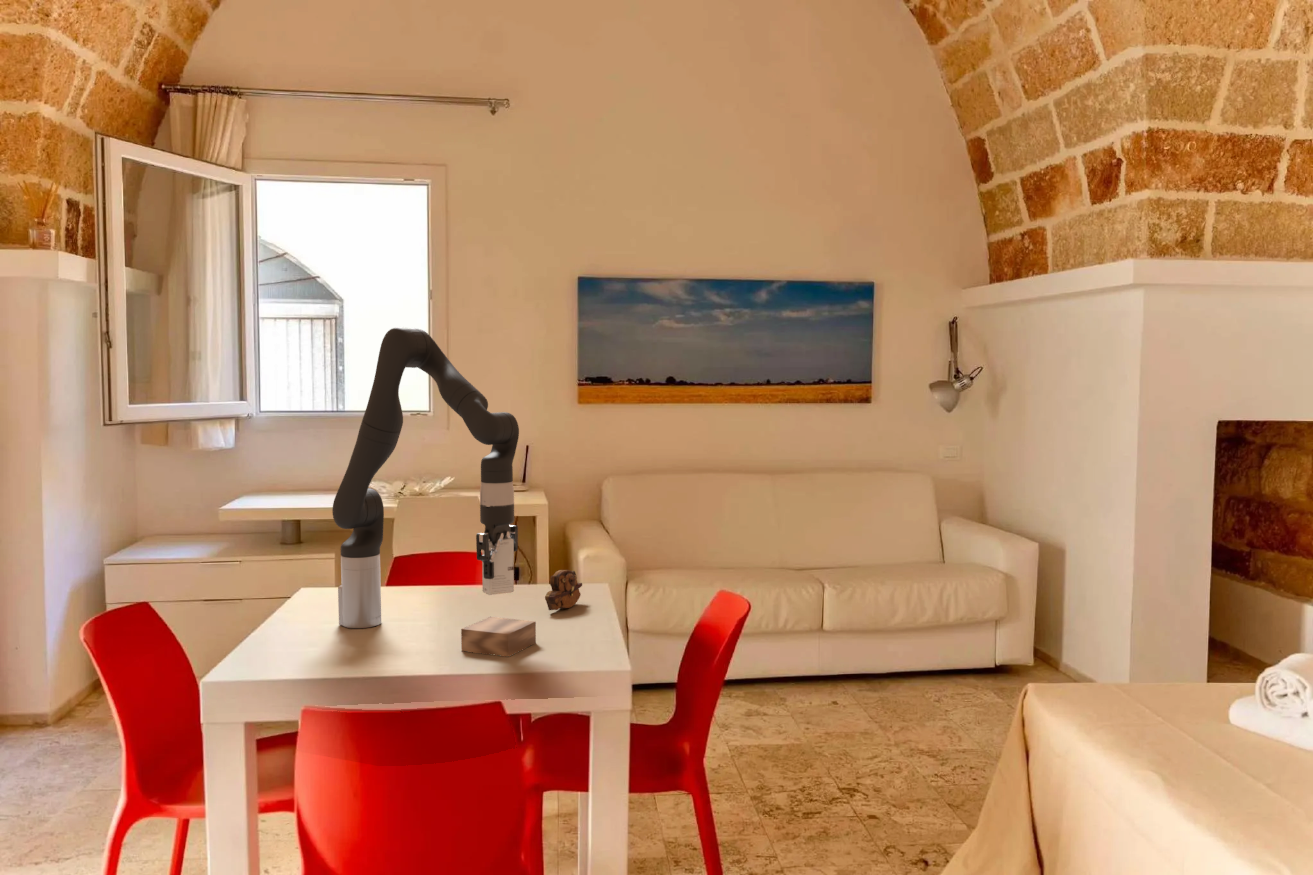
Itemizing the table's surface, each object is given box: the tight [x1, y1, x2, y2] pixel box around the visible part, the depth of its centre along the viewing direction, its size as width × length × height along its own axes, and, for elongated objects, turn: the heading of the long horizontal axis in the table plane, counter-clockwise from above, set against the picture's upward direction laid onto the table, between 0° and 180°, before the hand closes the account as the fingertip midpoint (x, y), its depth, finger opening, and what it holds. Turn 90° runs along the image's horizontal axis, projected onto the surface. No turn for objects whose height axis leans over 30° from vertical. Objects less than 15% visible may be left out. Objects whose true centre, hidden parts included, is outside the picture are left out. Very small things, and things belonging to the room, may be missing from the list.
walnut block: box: [460, 616, 537, 657], centre depth 225 cm, size 12×12×5 cm
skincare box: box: [481, 538, 515, 596], centre depth 224 cm, size 6×4×12 cm
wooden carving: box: [544, 569, 583, 611], centre depth 262 cm, size 16×5×10 cm, turn 161°
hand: (498, 575), depth 224 cm, fingers closed on skincare box, 7 cm apart
